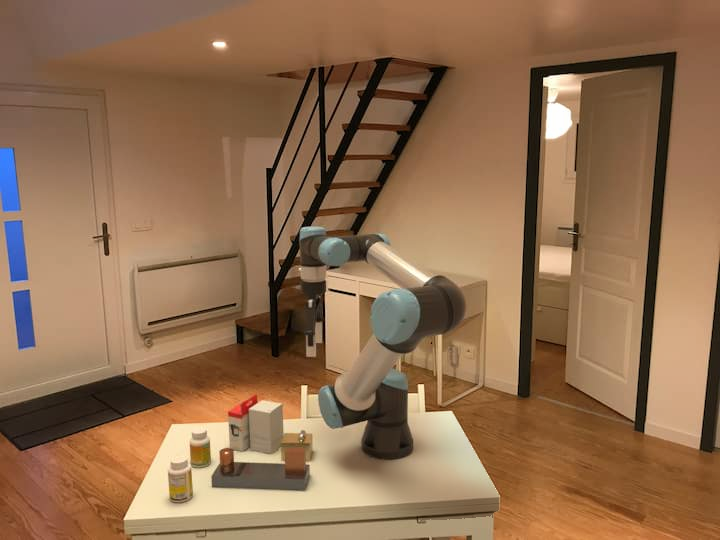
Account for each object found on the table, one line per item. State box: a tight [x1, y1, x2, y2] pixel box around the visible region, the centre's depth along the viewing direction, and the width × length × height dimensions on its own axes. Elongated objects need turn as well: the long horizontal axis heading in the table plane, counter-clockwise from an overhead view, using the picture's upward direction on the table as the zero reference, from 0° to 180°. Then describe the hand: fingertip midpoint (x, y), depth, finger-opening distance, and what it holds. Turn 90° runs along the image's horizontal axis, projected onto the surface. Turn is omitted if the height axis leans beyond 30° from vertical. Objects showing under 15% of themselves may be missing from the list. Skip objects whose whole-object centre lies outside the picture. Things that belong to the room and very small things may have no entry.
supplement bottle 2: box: [189, 426, 212, 469], centre depth 161 cm, size 5×5×10 cm
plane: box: [210, 447, 311, 492], centre depth 152 cm, size 24×8×9 cm, turn 86°
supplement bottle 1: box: [167, 454, 194, 503], centre depth 144 cm, size 6×6×10 cm
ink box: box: [227, 393, 259, 452], centre depth 172 cm, size 8×5×15 cm, turn 155°
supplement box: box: [248, 399, 285, 455], centre depth 171 cm, size 7×7×13 cm
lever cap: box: [280, 430, 313, 462], centre depth 166 cm, size 8×6×7 cm
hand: (314, 349), depth 176 cm, fingers open, 13 cm apart
